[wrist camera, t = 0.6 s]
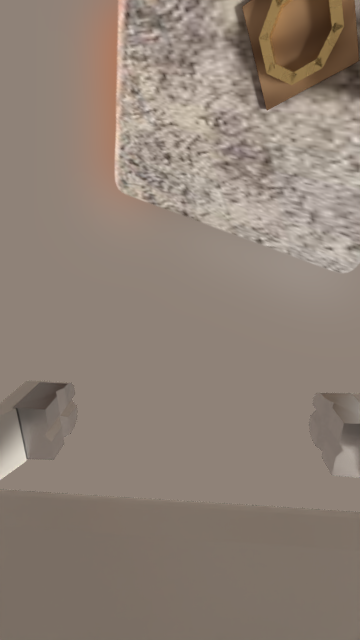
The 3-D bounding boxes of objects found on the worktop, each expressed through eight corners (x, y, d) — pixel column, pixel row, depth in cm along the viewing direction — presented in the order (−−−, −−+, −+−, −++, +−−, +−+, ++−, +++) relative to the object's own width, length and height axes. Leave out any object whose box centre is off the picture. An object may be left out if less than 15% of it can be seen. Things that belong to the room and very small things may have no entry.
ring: (255, 13, 36) (252, 11, 34) (335, -47, 31) (336, -53, 29) (273, 94, 40) (271, 96, 39) (345, 54, 35) (346, 54, 34)
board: (243, 8, 36) (242, 7, 36) (347, -72, 30) (348, -76, 29) (267, 109, 42) (266, 110, 42) (358, 60, 36) (359, 60, 35)
